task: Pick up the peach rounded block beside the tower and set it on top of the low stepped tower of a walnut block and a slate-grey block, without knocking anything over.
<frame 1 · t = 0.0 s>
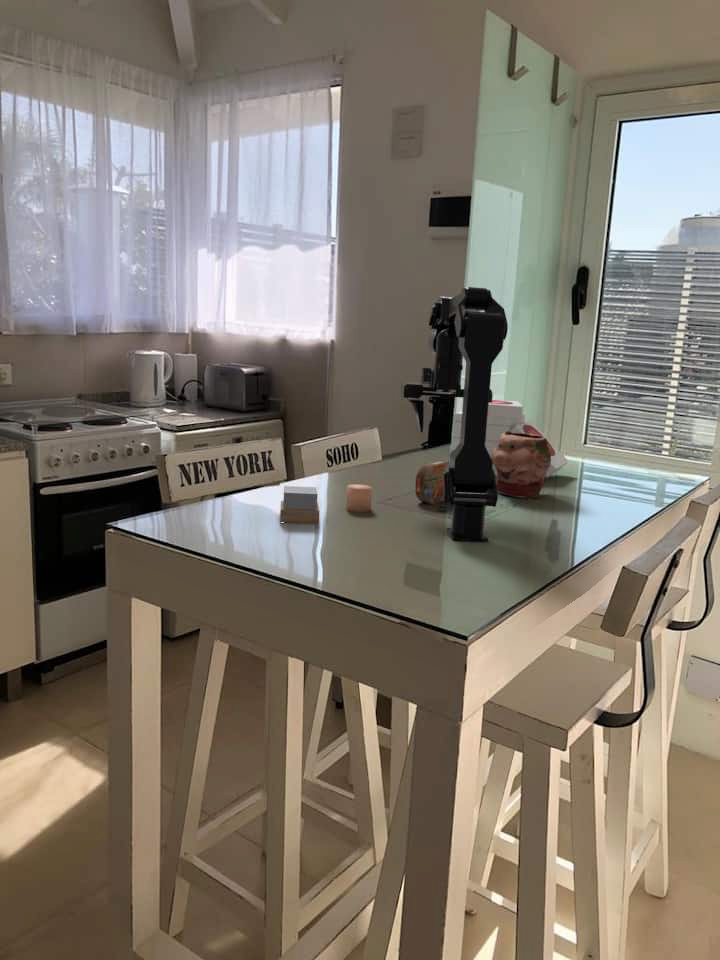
hand: (442, 433, 168), 15 cm above the table, fingers open, 9 cm apart
peach rounded block: (358, 509, 159), on the table
decorative planter: (520, 493, 184), on the table
walnut block: (299, 521, 148), on the table, touching slate block
tin: (436, 501, 171), on the table
slate block: (299, 505, 147), point 3 cm above the table, touching walnut block
pizza boxes: (504, 472, 211), on the table
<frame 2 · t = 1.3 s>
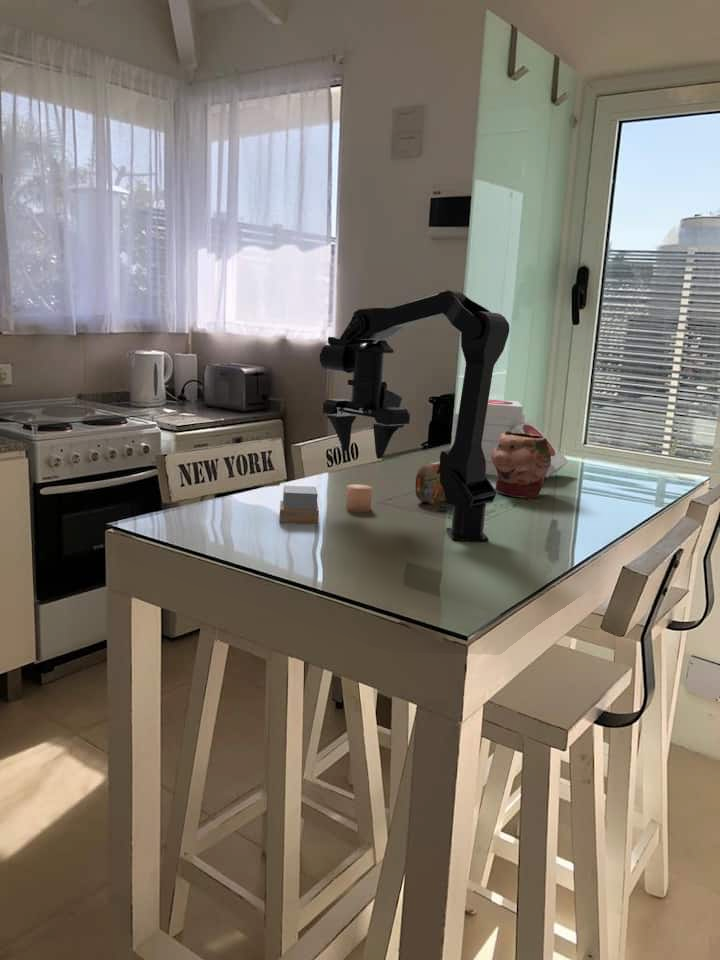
hand: (362, 454, 156), 11 cm above the table, fingers open, 9 cm apart
walnut block: (298, 521, 148), on the table
slate block: (299, 505, 147), point 3 cm above the table
everything else where it was.
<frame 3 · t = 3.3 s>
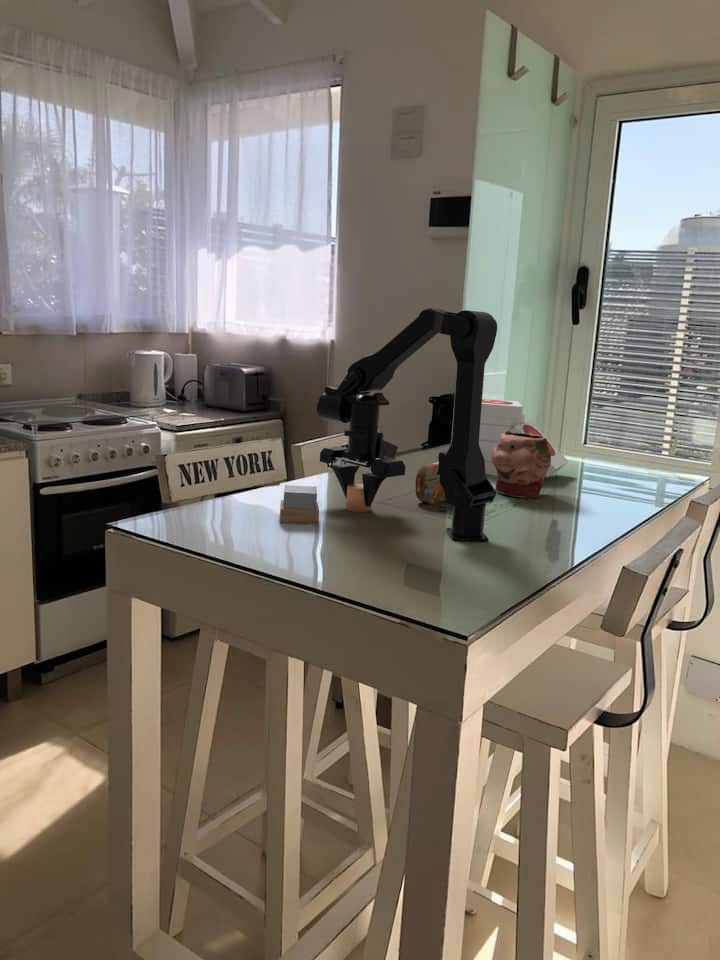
hand: (358, 503, 158), 1 cm above the table, fingers closed on peach rounded block, 5 cm apart
peach rounded block: (358, 508, 159), on the table, touching gripper
walnut block: (298, 520, 148), on the table, touching slate block
slate block: (299, 504, 147), point 3 cm above the table, touching walnut block
everything else where it was.
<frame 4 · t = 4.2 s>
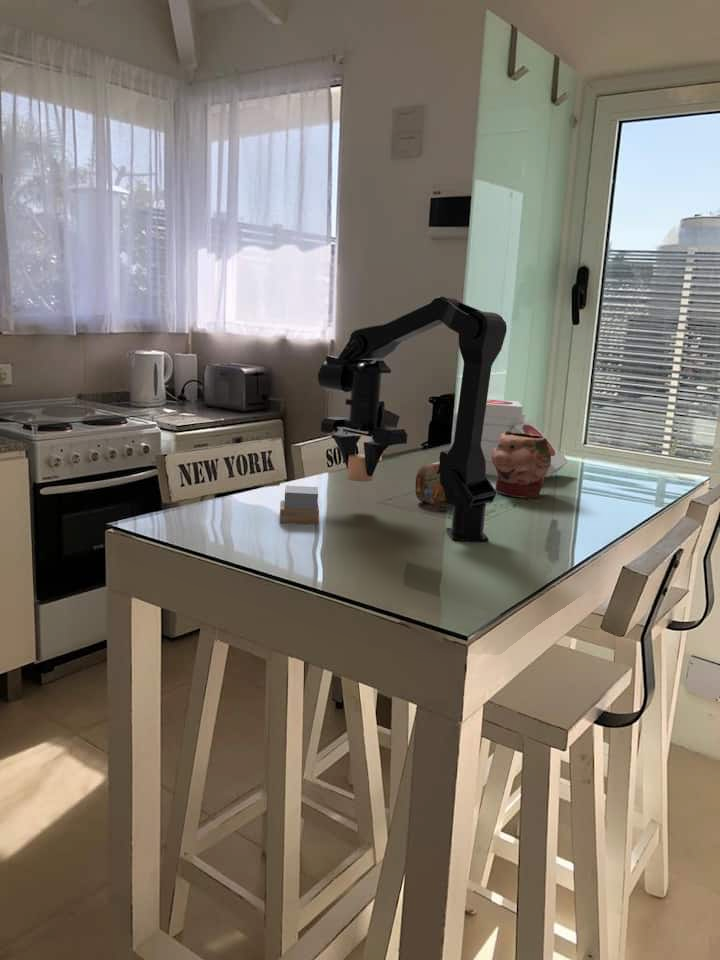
hand: (360, 473, 157), 7 cm above the table, fingers closed on peach rounded block, 5 cm apart
peach rounded block: (359, 478, 157), point 6 cm above the table, touching gripper
everything else where it was.
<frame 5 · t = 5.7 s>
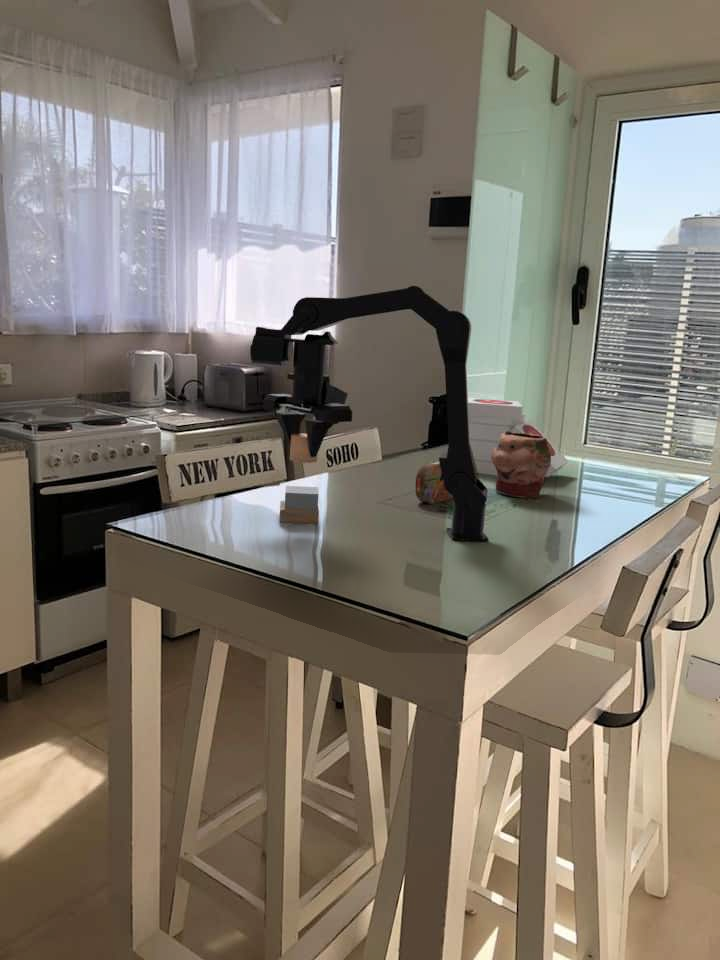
hand: (303, 454, 146), 12 cm above the table, fingers closed on peach rounded block, 5 cm apart
peach rounded block: (303, 460, 146), point 11 cm above the table, touching gripper
everything else where it was.
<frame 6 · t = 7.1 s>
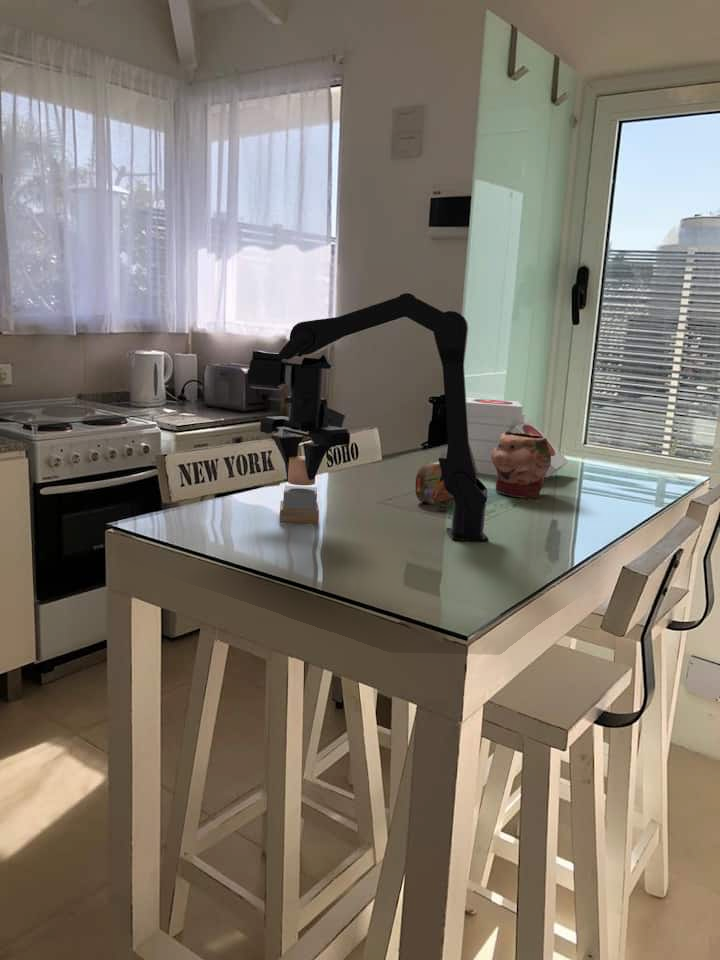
hand: (301, 476, 146), 8 cm above the table, fingers closed on peach rounded block, 5 cm apart
peach rounded block: (301, 482, 146), point 7 cm above the table, touching gripper
everything else where it was.
when the fingers open (8 cm above the table, at t = 7.7 s): peach rounded block drops 1 cm, resting on slate block.
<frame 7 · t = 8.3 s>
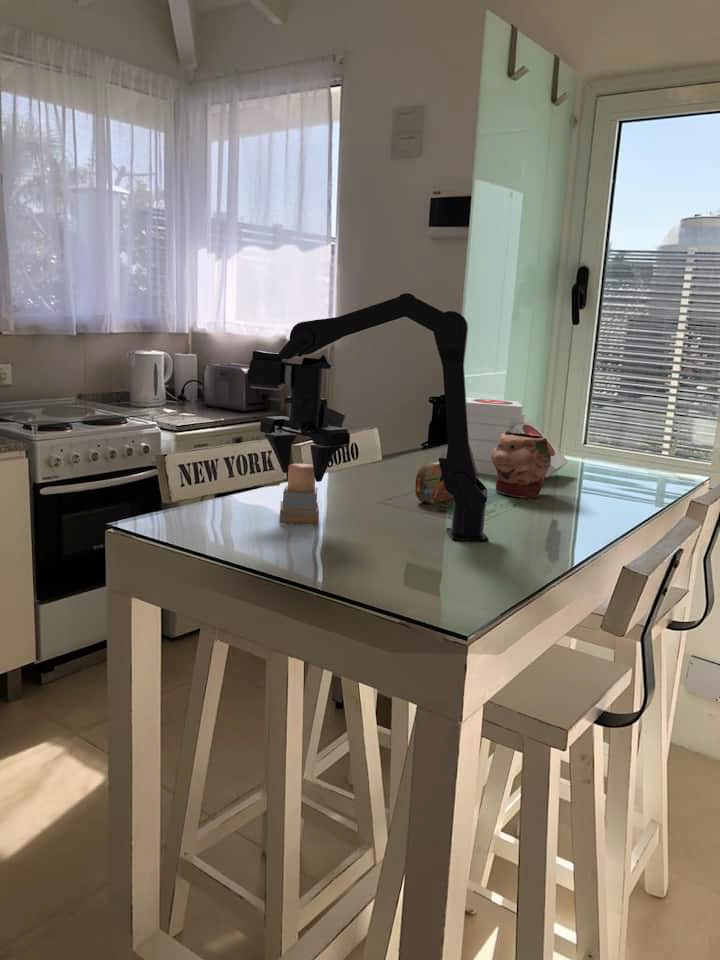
hand: (301, 476, 146), 8 cm above the table, fingers open, 9 cm apart
peach rounded block: (301, 490, 147), point 6 cm above the table, touching slate block
slate block: (300, 505, 147), point 3 cm above the table, touching peach rounded block, walnut block
everything else where it was.
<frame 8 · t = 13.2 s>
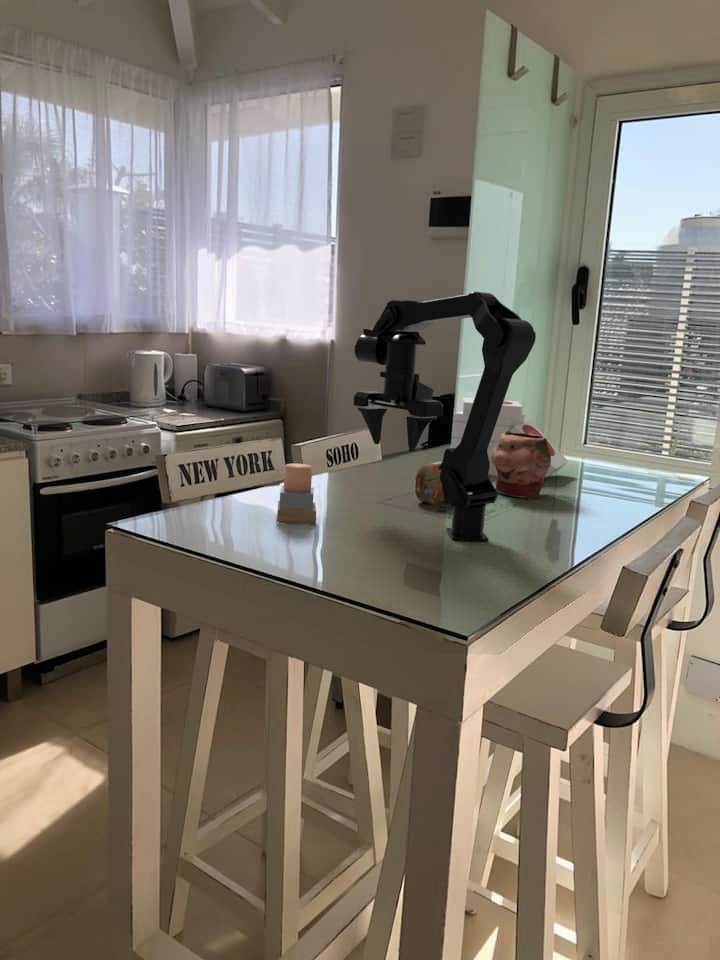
hand: (393, 447, 155), 13 cm above the table, fingers open, 9 cm apart
nothing on the table moved.
at the end: peach rounded block 0.0 cm off-centre on the slate block, point 3.0 cm above the slate block's base; slate block 0.0 cm off-centre on the walnut block, point 3.0 cm above the walnut block's base; the gripper is holding nothing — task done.
